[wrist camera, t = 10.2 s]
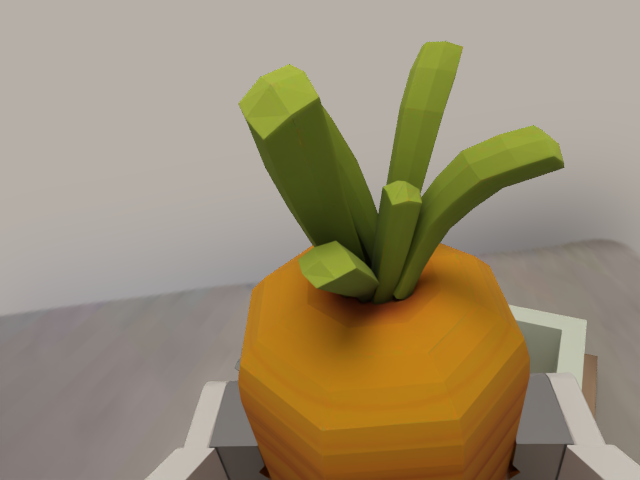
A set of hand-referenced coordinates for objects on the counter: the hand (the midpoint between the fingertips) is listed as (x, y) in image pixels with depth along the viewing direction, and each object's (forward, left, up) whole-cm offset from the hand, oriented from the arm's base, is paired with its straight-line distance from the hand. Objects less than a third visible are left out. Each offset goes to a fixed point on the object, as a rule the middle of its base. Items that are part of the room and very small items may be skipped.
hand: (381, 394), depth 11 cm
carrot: (0, -1, -8) cm, 8 cm away
